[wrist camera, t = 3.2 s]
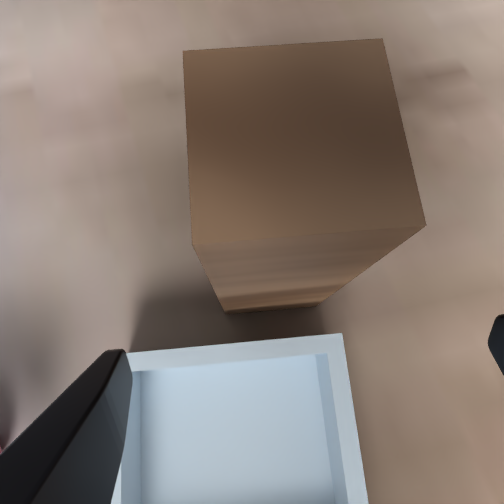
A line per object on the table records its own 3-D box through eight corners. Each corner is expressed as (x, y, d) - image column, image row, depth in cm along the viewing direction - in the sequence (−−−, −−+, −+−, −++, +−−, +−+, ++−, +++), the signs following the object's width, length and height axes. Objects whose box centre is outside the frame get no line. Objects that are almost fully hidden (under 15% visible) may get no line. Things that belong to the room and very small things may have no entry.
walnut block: (315, 306, 20) (426, 225, 8) (225, 314, 20) (192, 244, 8) (304, 221, 22) (382, 38, 9) (219, 228, 22) (182, 50, 9)
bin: (359, 571, 17) (387, 623, 14) (127, 599, 17) (97, 660, 13) (325, 337, 20) (342, 333, 17) (128, 355, 19) (103, 355, 16)
